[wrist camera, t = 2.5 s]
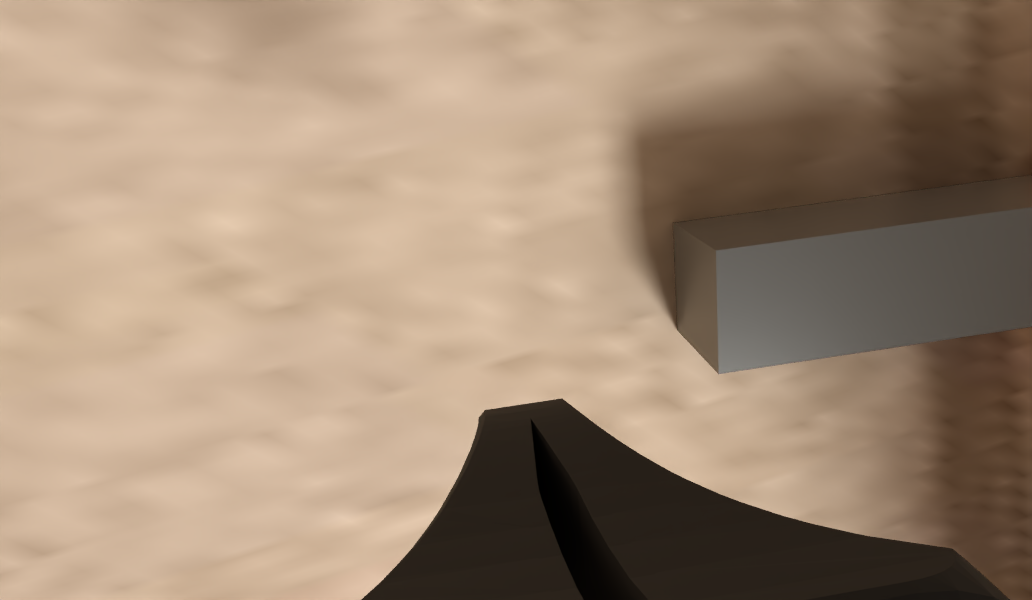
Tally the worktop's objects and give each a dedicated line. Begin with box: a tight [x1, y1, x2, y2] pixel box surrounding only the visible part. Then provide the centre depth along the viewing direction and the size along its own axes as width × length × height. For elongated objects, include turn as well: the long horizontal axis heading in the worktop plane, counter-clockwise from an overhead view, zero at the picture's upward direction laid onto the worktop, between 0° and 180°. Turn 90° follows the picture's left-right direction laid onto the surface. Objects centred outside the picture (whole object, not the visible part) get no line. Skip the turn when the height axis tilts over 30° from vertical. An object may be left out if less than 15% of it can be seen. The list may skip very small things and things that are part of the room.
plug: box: [673, 175, 1032, 374], centre depth 18 cm, size 16×4×5 cm, turn 96°
